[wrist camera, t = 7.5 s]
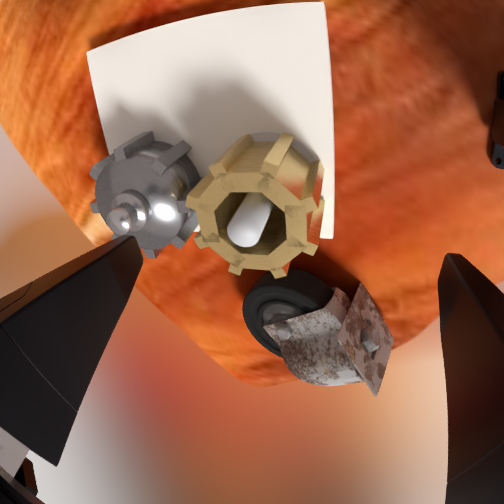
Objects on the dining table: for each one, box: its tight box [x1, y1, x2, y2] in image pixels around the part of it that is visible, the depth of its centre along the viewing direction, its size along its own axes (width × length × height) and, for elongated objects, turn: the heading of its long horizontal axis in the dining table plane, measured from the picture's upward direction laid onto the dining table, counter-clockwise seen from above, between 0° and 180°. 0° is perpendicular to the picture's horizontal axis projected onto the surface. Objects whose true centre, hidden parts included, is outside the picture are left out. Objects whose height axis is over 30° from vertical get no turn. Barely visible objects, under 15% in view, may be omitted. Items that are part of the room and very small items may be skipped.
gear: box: [89, 131, 204, 258], centre depth 20 cm, size 8×8×6 cm
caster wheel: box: [242, 268, 394, 397], centre depth 25 cm, size 7×11×10 cm
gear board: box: [86, 2, 335, 247], centre depth 17 cm, size 16×15×8 cm
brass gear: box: [185, 132, 325, 279], centre depth 18 cm, size 7×7×5 cm
